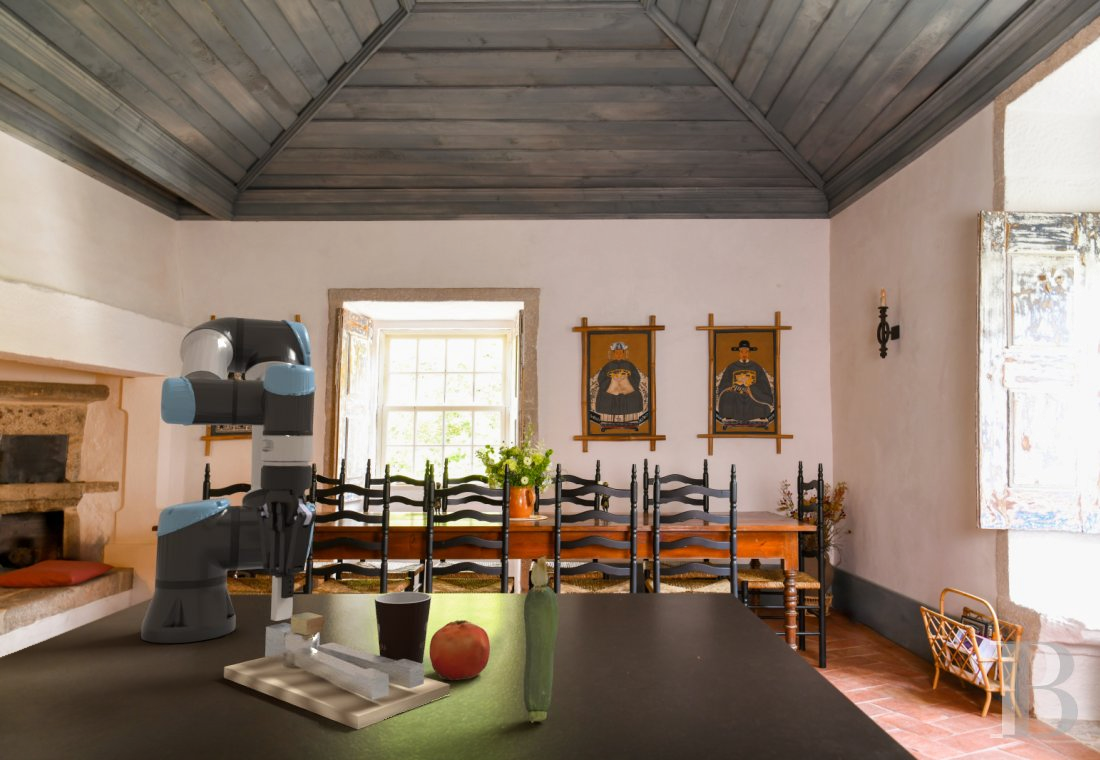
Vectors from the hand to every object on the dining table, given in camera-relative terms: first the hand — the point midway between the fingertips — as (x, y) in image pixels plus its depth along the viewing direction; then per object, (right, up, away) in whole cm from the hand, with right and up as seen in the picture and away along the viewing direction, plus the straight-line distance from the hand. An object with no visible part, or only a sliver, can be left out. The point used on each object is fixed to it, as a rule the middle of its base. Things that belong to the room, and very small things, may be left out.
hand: (281, 618), depth 113 cm
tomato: (+28, -7, -5) cm, 29 cm away
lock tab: (+5, 0, -5) cm, 7 cm away
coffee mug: (+19, -8, +2) cm, 20 cm away
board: (+11, -6, -10) cm, 16 cm away
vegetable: (+40, -6, -22) cm, 46 cm away
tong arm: (+13, -3, -15) cm, 20 cm away
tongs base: (+11, -5, -9) cm, 15 cm away
